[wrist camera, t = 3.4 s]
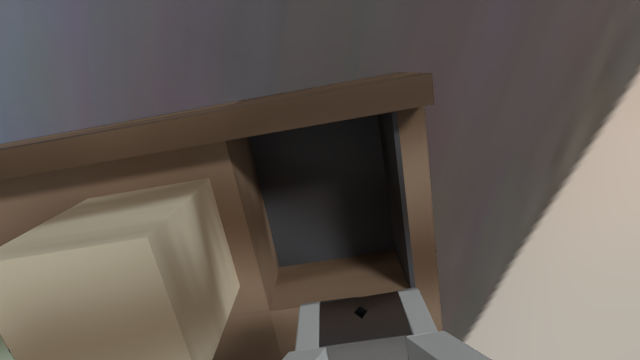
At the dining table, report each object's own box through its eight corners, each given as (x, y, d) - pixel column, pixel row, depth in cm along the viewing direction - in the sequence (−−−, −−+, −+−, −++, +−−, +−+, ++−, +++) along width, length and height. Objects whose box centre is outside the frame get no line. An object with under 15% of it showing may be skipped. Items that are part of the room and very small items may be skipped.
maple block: (87, 198, 14) (-37, 266, 9) (209, 178, 13) (147, 237, 9) (130, 302, 15) (42, 409, 10) (240, 286, 15) (201, 388, 10)
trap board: (-131, 167, 17) (-350, 214, 12) (397, 72, 16) (440, 73, 10) (1, 389, 22) (-111, 502, 16) (423, 331, 20) (463, 433, 15)
